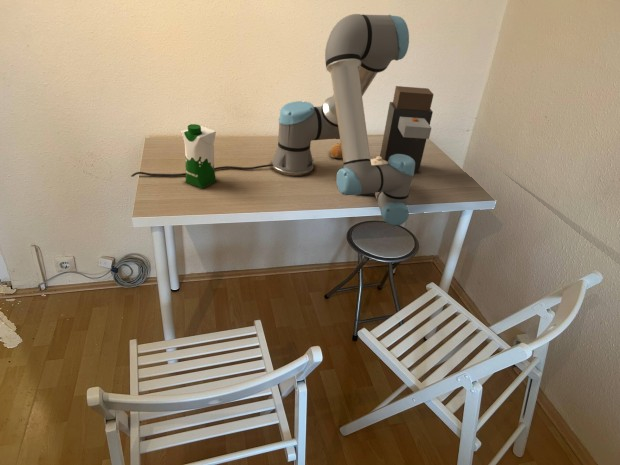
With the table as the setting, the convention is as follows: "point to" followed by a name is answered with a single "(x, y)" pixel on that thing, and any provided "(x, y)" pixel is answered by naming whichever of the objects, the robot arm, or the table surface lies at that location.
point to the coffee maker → (408, 124)
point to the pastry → (336, 151)
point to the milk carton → (199, 155)
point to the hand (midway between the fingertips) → (375, 162)
